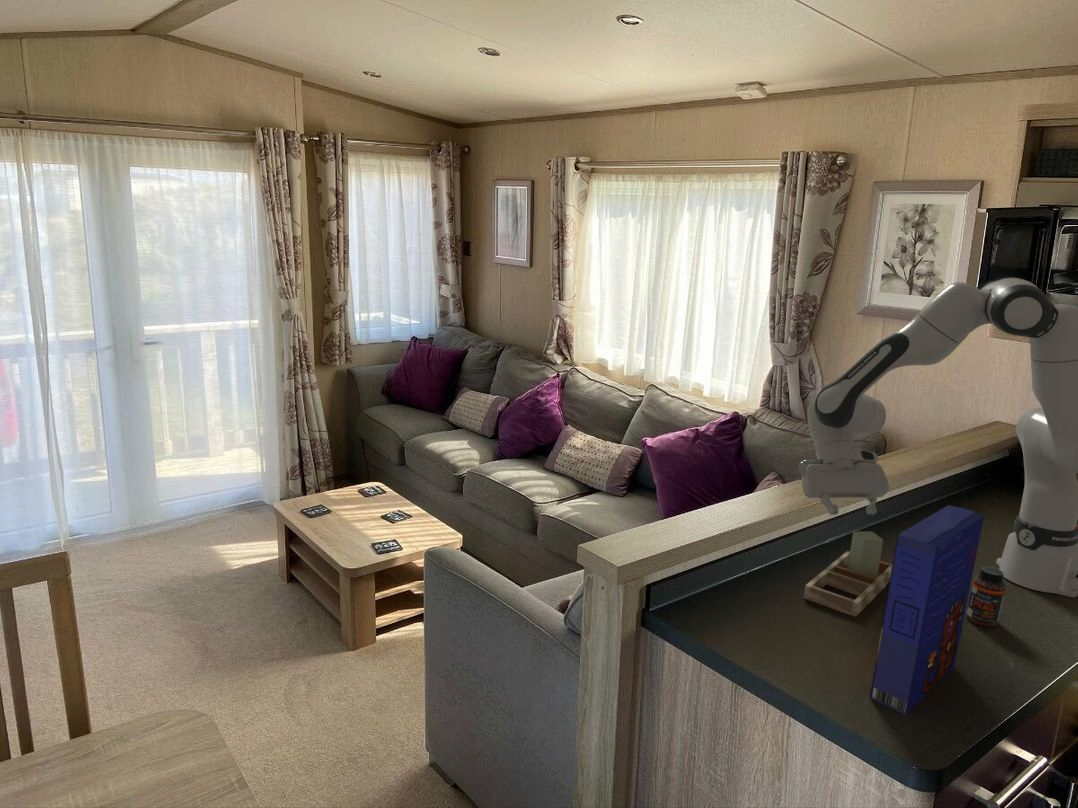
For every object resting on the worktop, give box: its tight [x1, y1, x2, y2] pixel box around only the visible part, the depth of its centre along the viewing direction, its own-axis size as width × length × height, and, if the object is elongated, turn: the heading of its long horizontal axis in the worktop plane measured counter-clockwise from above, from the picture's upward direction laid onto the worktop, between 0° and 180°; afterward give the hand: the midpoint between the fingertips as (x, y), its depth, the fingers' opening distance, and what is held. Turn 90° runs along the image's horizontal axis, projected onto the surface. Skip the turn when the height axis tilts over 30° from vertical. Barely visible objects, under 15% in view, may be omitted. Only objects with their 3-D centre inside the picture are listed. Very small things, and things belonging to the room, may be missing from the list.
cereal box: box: [869, 504, 985, 716], centre depth 137 cm, size 22×6×30 cm, turn 134°
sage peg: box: [847, 531, 884, 578], centre depth 180 cm, size 5×5×10 cm
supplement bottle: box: [965, 566, 1007, 628], centre depth 163 cm, size 6×6×11 cm
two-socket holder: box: [803, 550, 893, 618], centre depth 175 cm, size 25×11×3 cm, turn 140°
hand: (853, 513), depth 185 cm, fingers open, 8 cm apart
